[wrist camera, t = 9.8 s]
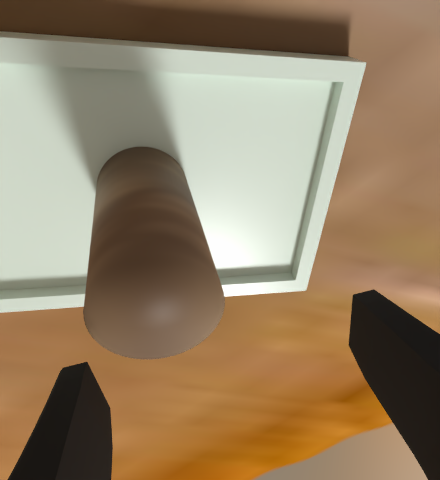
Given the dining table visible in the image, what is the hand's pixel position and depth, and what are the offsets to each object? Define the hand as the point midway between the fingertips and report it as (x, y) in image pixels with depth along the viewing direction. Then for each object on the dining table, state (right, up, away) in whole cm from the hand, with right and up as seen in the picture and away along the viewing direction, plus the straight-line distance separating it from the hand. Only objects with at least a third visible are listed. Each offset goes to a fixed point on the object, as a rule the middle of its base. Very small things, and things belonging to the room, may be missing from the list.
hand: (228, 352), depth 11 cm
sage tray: (-4, +6, +8) cm, 10 cm away
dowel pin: (-4, +5, +7) cm, 10 cm away
